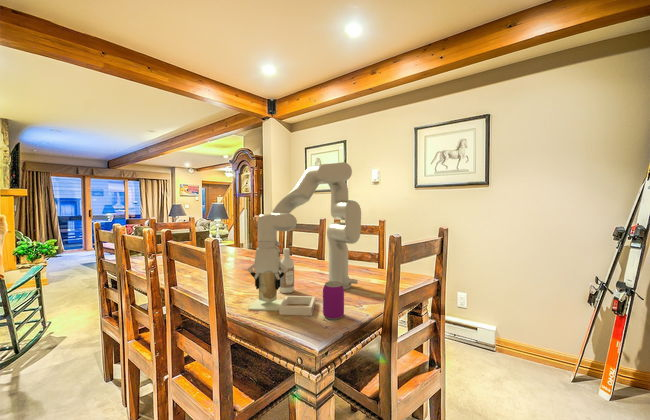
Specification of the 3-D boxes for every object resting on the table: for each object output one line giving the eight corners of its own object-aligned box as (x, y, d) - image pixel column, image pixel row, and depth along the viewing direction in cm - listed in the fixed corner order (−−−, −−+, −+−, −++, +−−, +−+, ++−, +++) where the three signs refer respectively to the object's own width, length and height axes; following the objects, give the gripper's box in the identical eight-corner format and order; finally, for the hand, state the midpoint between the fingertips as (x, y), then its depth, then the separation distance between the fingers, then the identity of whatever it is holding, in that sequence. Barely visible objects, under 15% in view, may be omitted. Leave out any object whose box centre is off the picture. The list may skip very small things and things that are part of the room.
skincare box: (258, 300, 112) (257, 270, 112) (265, 297, 116) (265, 268, 115) (270, 303, 109) (269, 272, 108) (277, 299, 112) (277, 269, 112)
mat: (285, 300, 117) (285, 299, 117) (279, 310, 106) (278, 309, 106) (257, 299, 118) (257, 298, 118) (248, 309, 107) (248, 308, 107)
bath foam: (283, 294, 125) (282, 250, 124) (276, 290, 131) (276, 248, 130) (296, 291, 129) (296, 248, 128) (290, 288, 134) (289, 247, 134)
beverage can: (319, 318, 99) (319, 285, 99) (327, 310, 106) (327, 279, 106) (340, 322, 96) (340, 287, 96) (346, 313, 103) (346, 281, 103)
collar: (315, 303, 114) (315, 296, 114) (311, 315, 102) (311, 307, 102) (286, 302, 114) (286, 295, 114) (279, 314, 103) (279, 306, 102)
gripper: (290, 243, 115) (291, 286, 115) (249, 243, 116) (250, 285, 116) (286, 246, 107) (287, 291, 108) (242, 246, 108) (243, 291, 109)
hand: (267, 288), depth 112 cm, fingers closed on skincare box, 7 cm apart
